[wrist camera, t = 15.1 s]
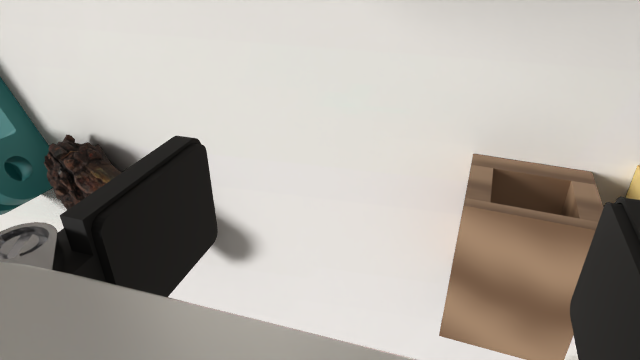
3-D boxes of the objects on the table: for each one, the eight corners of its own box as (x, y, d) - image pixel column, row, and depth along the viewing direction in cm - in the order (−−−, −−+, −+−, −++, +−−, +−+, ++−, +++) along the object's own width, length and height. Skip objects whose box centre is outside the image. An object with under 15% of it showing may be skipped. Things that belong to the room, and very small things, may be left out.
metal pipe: (216, 223, 47) (182, 253, 42) (196, 263, 50) (162, 295, 46) (81, 122, 48) (32, 141, 43) (70, 168, 51) (24, 190, 47)
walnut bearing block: (473, 153, 35) (463, 205, 28) (592, 171, 32) (611, 233, 26) (451, 269, 40) (439, 335, 33) (552, 292, 38) (560, 368, 31)
